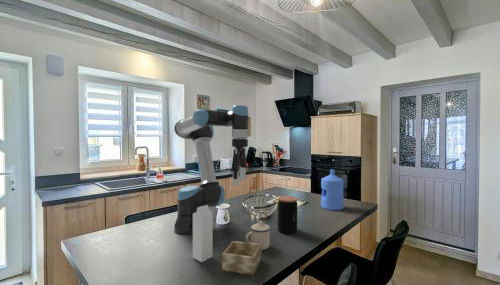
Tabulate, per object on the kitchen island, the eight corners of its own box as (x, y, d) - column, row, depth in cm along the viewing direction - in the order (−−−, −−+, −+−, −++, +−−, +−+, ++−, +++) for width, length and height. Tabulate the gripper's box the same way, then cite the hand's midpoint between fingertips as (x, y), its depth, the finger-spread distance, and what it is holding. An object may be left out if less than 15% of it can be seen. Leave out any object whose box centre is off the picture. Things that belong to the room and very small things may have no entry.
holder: (222, 270, 98) (222, 253, 98) (232, 255, 110) (232, 240, 110) (253, 275, 95) (253, 258, 95) (261, 259, 107) (261, 244, 107)
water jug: (345, 206, 189) (345, 169, 188) (340, 212, 175) (341, 171, 175) (324, 203, 197) (324, 167, 196) (318, 208, 184) (318, 169, 183)
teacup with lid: (263, 240, 126) (264, 217, 126) (273, 247, 118) (273, 223, 118) (241, 245, 121) (242, 220, 121) (250, 253, 113) (250, 227, 112)
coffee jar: (296, 235, 133) (297, 201, 133) (276, 233, 136) (276, 200, 135) (297, 228, 144) (297, 196, 143) (278, 226, 146) (278, 195, 146)
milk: (212, 257, 109) (213, 206, 108) (201, 262, 104) (202, 209, 103) (203, 253, 113) (203, 203, 112) (192, 257, 108) (192, 206, 107)
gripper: (241, 139, 107) (240, 189, 108) (252, 138, 132) (252, 179, 133) (224, 138, 109) (223, 188, 110) (238, 138, 133) (238, 178, 134)
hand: (239, 183), depth 121 cm, fingers open, 13 cm apart
